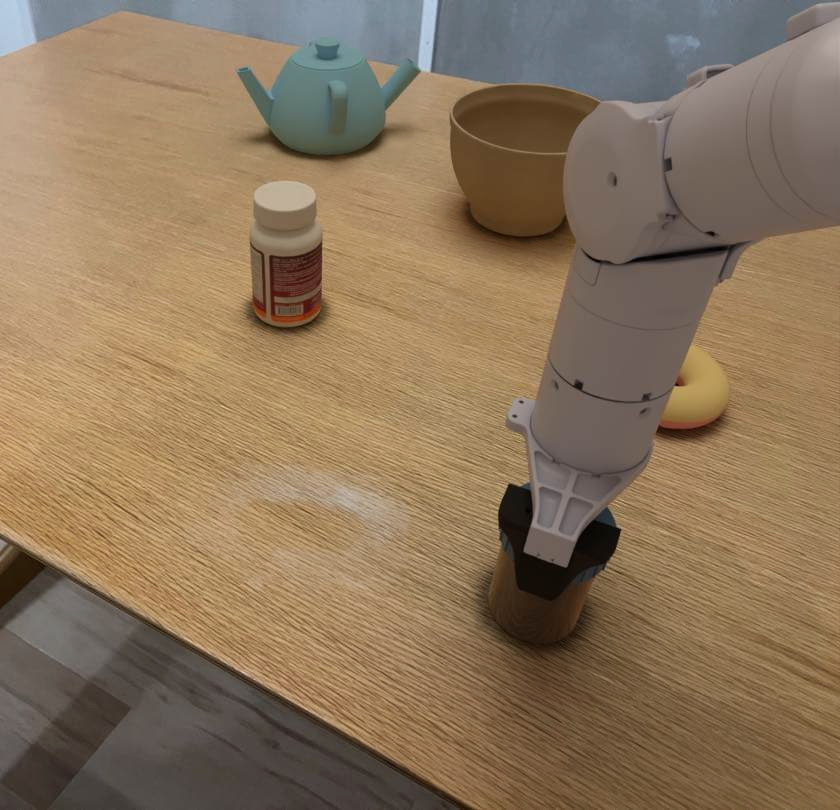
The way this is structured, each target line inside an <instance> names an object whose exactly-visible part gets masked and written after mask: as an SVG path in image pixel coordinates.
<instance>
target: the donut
mask: <svg viewBox="0 0 840 810" xmlns="http://www.w3.org/2000/svg"><path fill="white" fill-rule="evenodd" d="M730 384H731V383H730V380H729V377H728V376H727V374H726V372H725V370H724V369H723V367H722V366H721V364H720V363H719V362H718V361H717V360H716V359H714V357H713V356H712V355H710V354H709V353H708V352H706V351H705V350H704V349H702V348H700V347H698V346H697V345H694V344H692V343H691V346H690V348H689V351H688V353H687V356H686V358H685V360H684V363H683V365H682V368H681V370H680V373H679V375H678V378H677V381H676V385H675V386H674V389H673V391H672V394H671V396H670V399H669V401H668V403H667V406H666V408H665V411H664V413H663V416H662V418H661V421H660V423H659V426H658V428H659V427H660V428H665V429H672V430H687V429H695V428H699V427H703V426H705V425H708V424H710V423H712V422H713V421H715V420H716V419H718V418H719V417H720V416H721V415H722V414H723V413H724V412H725V410H726V408H727V407H728V405H729V402H730V398H731V385H730ZM677 385H678V386H677Z"/></svg>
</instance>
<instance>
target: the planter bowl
mask: <svg viewBox="0 0 840 810" xmlns="http://www.w3.org/2000/svg"><path fill="white" fill-rule="evenodd" d="M602 102H603V101H602V100H600V99H598V98H596V97H593V96H591V95H588V94H586V93H582V92H579V91H577V90H573V89H569V88H565V87H561V86H556V85H549V84H543V83H532V82H531V83H529V82H519V83H518V82H510V83H497V84H491V85H487V86H483V87H478V88H475V89H473V90H470V91H468V92H465V93H463V94H462V95H460V96H459V97H457V98H456V99H455V100H454V101H453V102H452V104H451V106H450V108H449V125H450V126H449V127H450V132H449V147H450V148H449V151H450V159H451V163H452V168H453V172H454V175H455V178H456V181H457V183H458V185H459V187H460V189H461V191H462V193H463V195H464V196H465V198H466V199H467V201H468V202H469V211H470V214H471V216H472V218H473V219H474V220H475V221H476V222H477V223H478V224H479V225H481V226H483V227H484V228H486V229H488V230H490V231H493V232H496V233H498V234H502V235H506V236H512V237H526V238H527V237H535V236H536V237H538V236H541V235H545V234H548V233H551V232H553V231H554V230H556V229H557V228H559V226H560V225H561V224H562V222H563V220H564V218H565V216H567V215H566V211H565V205H564V196H563V174H564V165H565V159H566V155H567V151H568V147H569V144H570V141H571V139H572V137H573V134H574V133H575V131H576V129H577V127H578V126H579V124H580V123H581V122H582V121H583V120H584V118H586V117H587V116H588V115H589V114H591V113H592V112H593V111H594V110H595V109H596V108H597V106H598V105H599V104H600V103H602Z"/></svg>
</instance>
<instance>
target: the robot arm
mask: <svg viewBox="0 0 840 810" xmlns="http://www.w3.org/2000/svg"><path fill="white" fill-rule="evenodd" d="M785 29H786V30H785V33H786V42H784V43H782V44H780V45H777V46H775V47H774V48H771V49H769V50H767V51H765V52H763V53H760V54H758V55H755V56H754V57H752V58H750V59H747V60H746V61H743V62H741V63H739V64H736V65H733V64H732V63H723V64H722V63H721V64H713V65H705V66H703V67H701V68H698V69H697V70H695V71H692V72H691V73H689V74H688V75H687V76H686V79H685V89H683V90H680V91H679V92H677V93H675V94H674V95H673V96H671V97H670V98H669V99H668V100H658V101H649V102H639V103H635V102H631V101H627V100H614V99H613V100H604V101H602V103H600V104H599V105H598V106H597V108H596V109H595V110H594V111H593V112H592V113H591V114H589V115H588V116H587V117H586V118H584V120H583V121H582V122H581V123H580V124H579V126H578V127H577V129H576V131H575V133H574V134H573V137H572V139H571V141H570V144H569V147H568V151H567V155H566V159H565V165H564V174H563V196H564V205H565V211H566V215H565V216H566V219H567V222H568V225H569V228H570V231H571V233H572V235H573V238H574V240H575V245H574V248H573V253H572V256H571V260H570V264H569V268H568V272H567V276H566V279H565V285H564V288H563V291H562V295H561V299H560V302H559V303H560V304H559V307H558V310H557V315H556V319H555V323H554V327H553V331H552V334H551V338H550V342H549V346H548V351H547V354H546V358H545V362H544V365H543V369H542V374H541V378H540V381H539V386H538V388H537V393H536V396H535V399H530V398H527V397H521V396H520V397H517V398H515V399H513V400H512V402H511V404H510V407H509V409H508V411H507V413H506V416H505V417H506V418H505V424H504V426H505V427H506V428H507V429H508V430H510V431H512V432H515V433H518V434H520V435H521V436H522V437H523V439H524V444H525V451H526V452H525V454H526V461H527V470H528V477H529V482H530V487H531V490H528V489H525V488H522V487H520V486H519V485H516V484H514V483H508V484H507V487H506V489H505V491H504V494H503V496H502V498H501V500H500V503H499V506H498V511H497V523H498V527H500V528H501V530H502V531H503V532H504V533H505V535H506V536H507V538H508V539H509V541H510V544H511V546H512V550H513V555H514V567H515V578H516V584H517V587H518V589H520V590H522V591H525V592H527V593H530V594H533V595H535V596H538V597H540V598H543V599H546V600H548V601H554V600H555V599H557V598H558V597H559V596H560V595H561V594H562V593H563V592H564V590H565V589H566V588H567V587H568V586H569V584H570V583H571V582H572V581H573V580H574V579H575V578H576V577H577V576H578V575H579V574H580V573H582V572H583V571H585V570H587V569H589V568H591V567H594V566H598V565H603V564H605V563H606V562H607V561H608V560H609V559H610V560H611V558H612V557H613V556H614V554H615V552H616V551H617V547H618V544H619V541H620V540H619V539H620V537H621V533H622V528H620V527H618V526H617V527H614V526H611V525H608V524H605V523H603V522H600V521H597V520H594V518H595V517H597V516H598V515H599V514H600V513H601V512H602V511H603V510H604V509H605V508H606V507H608V506H609V505H611V503H613V501H614V500H615V499H617V497H618V496H620V495H621V494H622V493H623V492H624V491H625V490H626V489H627V488H628V487H630V485H631V484H632V483H633V482H634V481H635V480H637V478H638V477H639V476H641V474H643V472H644V471H645V470H646V469H647V467H648V465H649V463H650V460H651V458H652V455H653V452H654V447H655V446H654V445H655V443H654V438H655V437H656V433H657V431H658V428H659V423H660V421H661V418H662V416H663V413H664V411H665V408H666V406H667V403H668V401H669V399H670V396H671V394H672V391H673V389H674V386H676V385H677V383H676V381H677V378H678V375H679V373H680V370H681V368H682V365H683V363H684V360H685V358H686V356H687V353H688V351H689V348H690V346H691V344H692V343H693V340H694V339H695V336H696V333H697V331H698V328H699V325H700V323H701V321H702V318H703V315H704V313H705V311H706V309H707V307H708V304H709V301H710V299H711V296H712V294H713V292H714V289H715V287H717V286H719V284H722V283H724V282H725V281H726V280H731V279H732V276H733V274H734V272H735V269H736V268H737V265H738V262H739V260H740V259H741V256H742V255H743V254H744V252H745V251H747V250H748V249H749V248H751V247H752V246H754V245H756V244H758V243H760V242H762V241H764V240H765V239H768V238H775V237H780V236H785V235H793V234H799V233H804V232H810V231H817V230H823V229H829V228H835V227H840V1H835V2H834V1H833V2H823V3H821V2H820V3H817V4H814V5H812V6H810V7H808V8H806V9H804V10H801V12H798V13H796V14H795V15H792V16H791V17H789V18H788V19H787V20H786V23H785ZM610 560H609V561H610ZM609 561H608V562H609ZM608 562H607V563H608Z"/></svg>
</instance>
